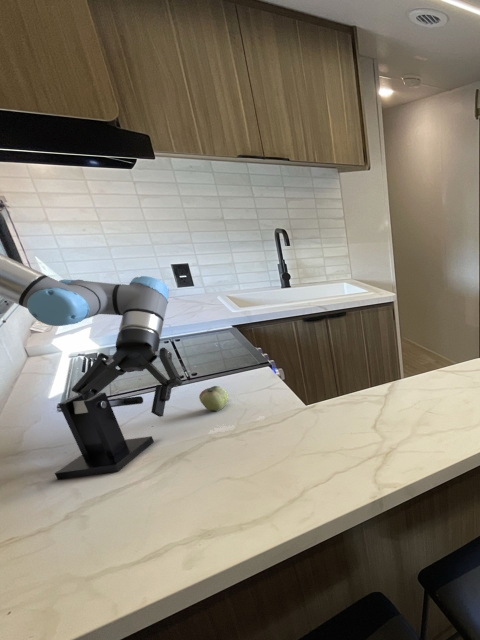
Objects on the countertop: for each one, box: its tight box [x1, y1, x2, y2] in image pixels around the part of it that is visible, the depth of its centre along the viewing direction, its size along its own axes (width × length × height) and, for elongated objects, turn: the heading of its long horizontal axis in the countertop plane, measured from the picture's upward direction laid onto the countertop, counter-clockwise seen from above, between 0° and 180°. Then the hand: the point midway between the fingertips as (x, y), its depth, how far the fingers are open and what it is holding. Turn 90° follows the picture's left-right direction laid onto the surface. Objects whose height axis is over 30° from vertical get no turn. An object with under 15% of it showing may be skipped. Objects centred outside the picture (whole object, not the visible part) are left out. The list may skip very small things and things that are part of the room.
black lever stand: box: [54, 392, 155, 481], centre depth 80 cm, size 12×10×14 cm
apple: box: [198, 385, 229, 412], centre depth 105 cm, size 6×8×6 cm
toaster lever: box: [73, 395, 144, 414], centre depth 83 cm, size 12×6×2 cm, turn 11°
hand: (121, 418), depth 87 cm, fingers open, 13 cm apart
